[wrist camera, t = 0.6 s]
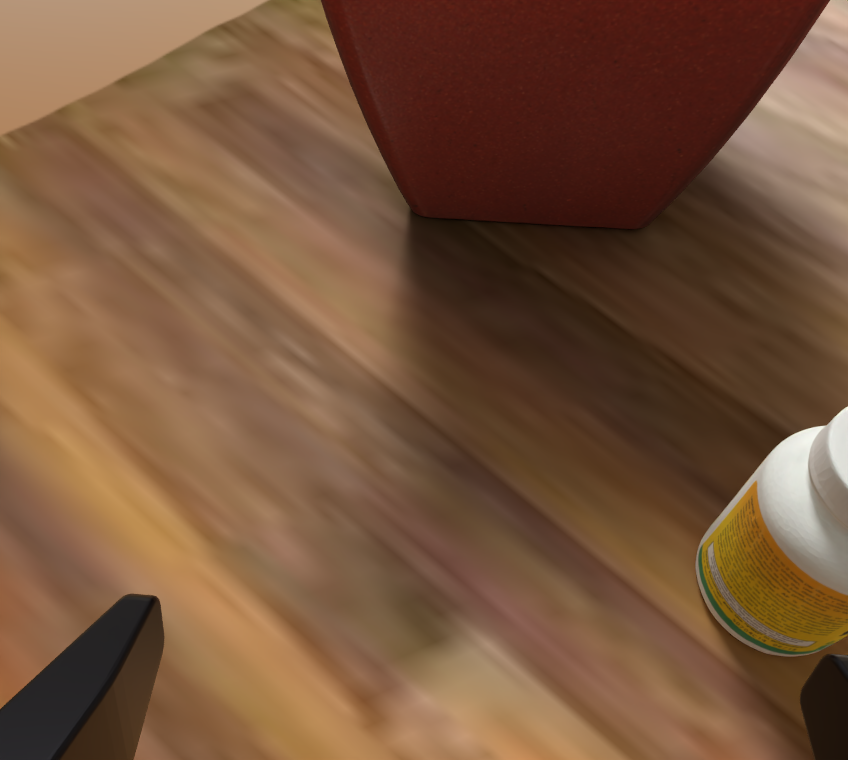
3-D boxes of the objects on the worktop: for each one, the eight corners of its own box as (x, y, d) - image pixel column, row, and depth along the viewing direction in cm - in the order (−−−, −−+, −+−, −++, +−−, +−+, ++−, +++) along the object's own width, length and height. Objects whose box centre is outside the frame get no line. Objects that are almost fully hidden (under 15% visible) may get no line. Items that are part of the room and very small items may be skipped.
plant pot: (333, 259, 36) (274, -129, 22) (383, 51, 47) (365, -294, 33) (719, 286, 35) (912, -106, 21) (678, 67, 46) (787, -286, 32)
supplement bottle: (722, 492, 28) (836, 343, 20) (861, 566, 26) (1043, 434, 19) (667, 604, 26) (773, 483, 18) (816, 694, 24) (1007, 604, 16)
